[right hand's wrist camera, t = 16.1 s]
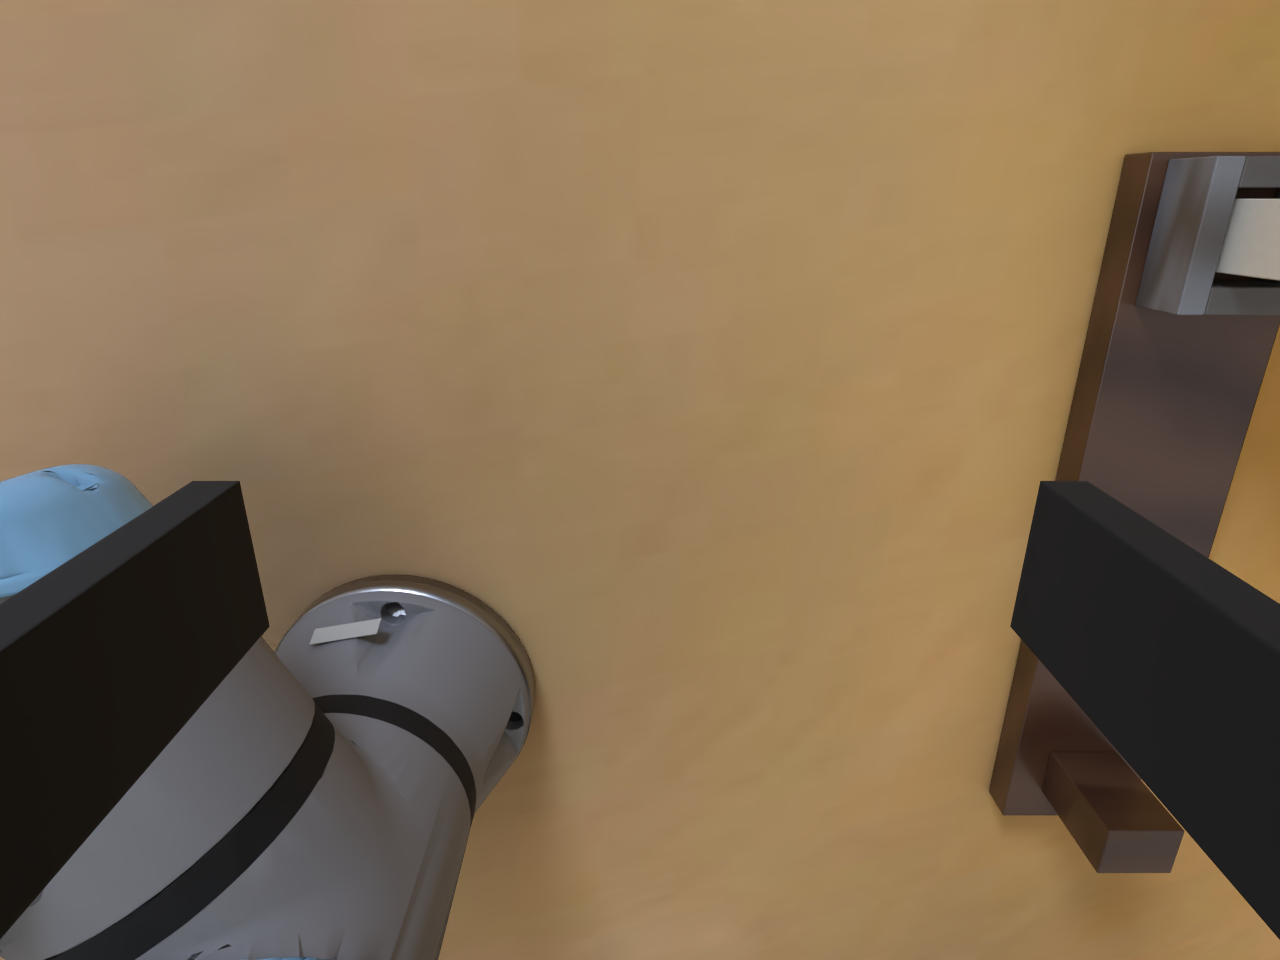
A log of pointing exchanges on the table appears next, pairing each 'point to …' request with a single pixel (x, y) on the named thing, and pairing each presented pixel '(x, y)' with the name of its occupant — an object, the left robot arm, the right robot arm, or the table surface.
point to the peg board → (1147, 460)
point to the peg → (1252, 240)
